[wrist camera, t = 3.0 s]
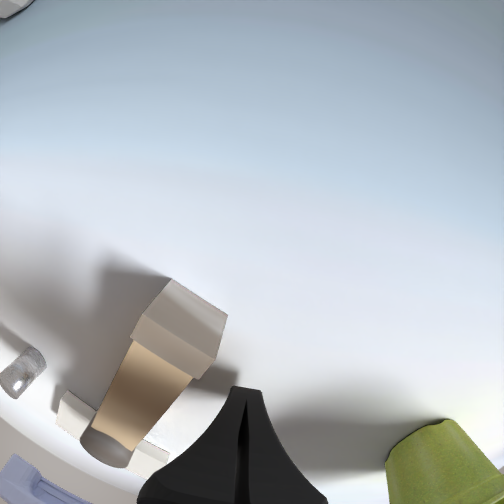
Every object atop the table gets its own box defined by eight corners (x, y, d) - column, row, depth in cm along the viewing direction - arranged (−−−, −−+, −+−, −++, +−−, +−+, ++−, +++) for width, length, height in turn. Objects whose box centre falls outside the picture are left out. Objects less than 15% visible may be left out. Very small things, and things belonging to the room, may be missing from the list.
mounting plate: (150, 470, 16) (146, 479, 15) (61, 415, 16) (55, 423, 15) (169, 453, 15) (166, 464, 14) (67, 390, 14) (60, 398, 14)
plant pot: (452, 380, 13) (517, 482, 4) (486, 420, 14) (528, 489, 6) (337, 464, 15) (353, 569, 7) (399, 484, 16) (419, 558, 8)
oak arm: (138, 434, 15) (120, 473, 12) (99, 410, 15) (76, 446, 11) (229, 316, 12) (216, 366, 9) (169, 277, 12) (135, 315, 8)
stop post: (44, 374, 14) (17, 403, 11) (26, 357, 14) (-2, 384, 11) (47, 359, 14) (17, 390, 11) (28, 342, 14) (-3, 369, 10)
